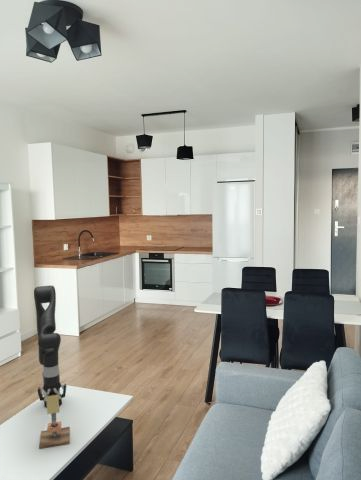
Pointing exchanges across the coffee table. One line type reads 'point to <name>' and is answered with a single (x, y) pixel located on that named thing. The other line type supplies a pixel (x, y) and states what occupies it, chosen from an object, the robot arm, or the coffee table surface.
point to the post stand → (54, 436)
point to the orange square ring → (54, 427)
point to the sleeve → (52, 403)
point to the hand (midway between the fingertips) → (53, 406)
